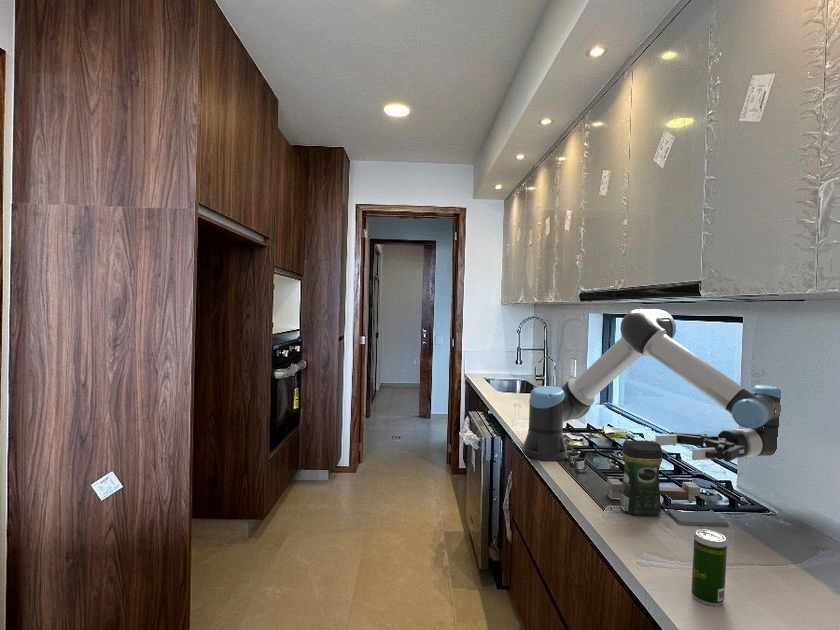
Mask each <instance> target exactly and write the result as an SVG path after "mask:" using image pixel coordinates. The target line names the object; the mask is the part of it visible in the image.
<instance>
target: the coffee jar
mask: <svg viewBox="0 0 840 630" xmlns="http://www.w3.org/2000/svg"><path fill="white" fill-rule="evenodd" d="M662 451H663V450H662V445H661V446H660V445H659V444H658V443H656V442H655V440H637V439H636V440H633V439H632V440H629V439H627V440H626V439H625V440H624V441H623V445H622V451H621V456H622V459H623V463H624V464H623V465H624V467H623V478H622V491H621V498H620V500H619V505H621V506H622V507H623V508H624V510H625V511H626V513H628V514H629V515H634V516H647V517H648V516H658V515H660V514H661V511H662V508H661V502H660V489H659V487H660V468H661V464H662V461H663V452H662ZM621 506H620V507H621ZM624 510H623V511H624ZM625 511H624V512H625Z"/></svg>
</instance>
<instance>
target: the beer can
mask: <svg viewBox="0 0 840 630" xmlns="http://www.w3.org/2000/svg"><path fill="white" fill-rule="evenodd" d="M727 550H728V542H727V538H726V536H725V535H723V534H722V533H720V532H717V531H714V530H709V529H697V530H696V531H695V535H694V536H693V551H692V552H693V553H692V554H693V555H692V556H693V557H692V573H691V590H690V591H691V594H692V597H693V598H694V599H695V601H697V602H698V601H699V603H700V602H701V604H702V603H703V605H705V604H706V605H705V606H709V605H711V606H710V607H717V606H716V605H720V606H721V605H722V604H723V602H724V600H725V590H726V575H727V574H726V573H727V571H726V570H727V552H728V551H727Z"/></svg>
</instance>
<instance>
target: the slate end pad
mask: <svg viewBox="0 0 840 630" xmlns="http://www.w3.org/2000/svg"><path fill="white" fill-rule="evenodd" d="M689 503H692V502H689ZM667 512H668V513H667ZM667 512H666V513H667V514H668V515H669V516H670V517H671V518H672V519H673V520H674V521H675V522H676V523H677V524H679V525H687V526H688V525H689V526H690V525H691V526H709V527H710V526H712V527H729V525H730V523H729V522H728V521H727V520H725V519H724V518H723V517H721V515H719V514H718V513H716V512H715V511H714V510H712V509H711V510H710V511H698V512H681V511H678V510H673V509H667Z"/></svg>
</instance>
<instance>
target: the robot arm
mask: <svg viewBox="0 0 840 630" xmlns="http://www.w3.org/2000/svg"><path fill="white" fill-rule="evenodd" d="M676 328H677V325H676V322H675V319H674V318H673V316H672V315H671V314H670V313H668V312H667V311H665V310H662V309H658V308H652V309H650V308H649V309H648V308H647V309H646V308H645V309H644V308H638V309H634V310H631V311H629V312H627V313H626V314H625V315H624V317H623V318H622V320H621V322H620V334H621V337H620V338H619V339H618V340H617V341H616V342H615V343H614V344H612V346H610V347H609V348H608V349H607V350H606V351H605V352H604V353H603V354H602V355H601V356H600V357H598V359H596V360H595V361H594V362H593V363H592V364H591V365H590V366H589V367H588V368H587V369H586V370H585V371H584V372H582V374H581V375H579V376H578V377H577V378H570V379H568V381H567V382H566V383H565V384H564V385H562V386H561V387H559V386H553V385H546V386H537V387H535V388H533V389H531V391H530V396H529V409H528V410H529V411H528V412H529V413H528V416H529V417H528V432H527V435H526V436H525V440H524V443H523V446H522V454H523V455H524V456H526V457H528V458H531V459H534V460H541V461H550V462H551V461H553V462H554V461H561V460H565V459H566V458H567V457H566V456H568V451H567V450H568V449H567V445H566V442H565V439H564V434H563V428H564V424H563V423H565V422H567V421H571V420H577V419H581V418H582V417H584V416H585V415H587V414H588V413H589V411H590V409H591V407H592V405H594V402H595V397H596V396H597V395H598V394H600V392H601V391H603V390H604V389H606V387H607V386H609V384H610V383H612V382H613V381H614V380H615V379H616V378H618V377H619V375H620V374H622V373H623V372H624V371H625V370H627V369H628V367H630V366H631V365H632V364H633V363H634V362H636V361H637V359H639V358H640V357H647V356H651V358H653V359H655V360H656V361H657V362H658V363H660V364H661V365H663V366H664V367H666V368H667V369H669V370H670V371H671V372H673V373H674V374H676V375H677V376H678V377H680V378H681V380H684V381H685V382H687V383H688V384H689V385H690V386H692V387H693V388H695V389H696V390H698V391H699V392H701V393H702V394H703V395H705V396H706V397H707V398H709V399H710V400H712V401H713V402H714V403H715V404H717V405H718V406H720V407H721V408H722V409H724V410H725V411H727V412H728V413H730V414H731V417H732V419H733V421H734V422H735V423H736V424H737V425H738V426H740V427H742V428H739V429H737V428H736V429H724V430H722V431H720V432H719V433H718V435H708V434H707V433H692V432H691V433H689V432H675V431H671V432H670V434H656V435H655V439H654V441H655V442H656V443H658V444H659V445H660V446H661V447H662V446H674V447H675V446H676V445H688V446H695V447H697V448H692V449H691V450H692V451H691V452H692V453H691V460H692V461H704V460H715V459H717V460H723V459H724V462H731V461H734V460H735V459H739V458H740V459H741V458H744V459H749V457H750V458H752V457H767V456H769V457H770V456H771V455H773V454H774V453H775V451H776V449H777V437H778V427H779V416H780V412H781V405H780V399H781V390H780V389H779V388H780V387H779V388H776V387H777V386H775V387H772V386H773V385H765V384H759V385H758V384H756V385H754V386H753V387H752V392H751V391H749V390H747V389H746V388H744V387H743V386H742V385H741V384H739V383H737V382H736V381H734V380H733V379H731V378H730V377H728V376H727V375H725V374H724V373H722V371H719V370H718V369H717V368H715V367H714V366H712V364H709V363H708V362H706V361H705V360H704V359H702V358H700V357H699V356H698V355H696V354H694V352H692V351H691V350H689V349H687V348H686V347H685V346H683V345H681V344H680V343H679V342H677V341H676V340H675V339H674V338H675V335H676V333H677V329H676ZM773 404H774V405H773ZM774 406H775V407H774ZM775 410H776V413H775ZM763 427H764V428H763ZM698 447H700V448H698ZM771 457H772V456H771Z"/></svg>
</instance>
